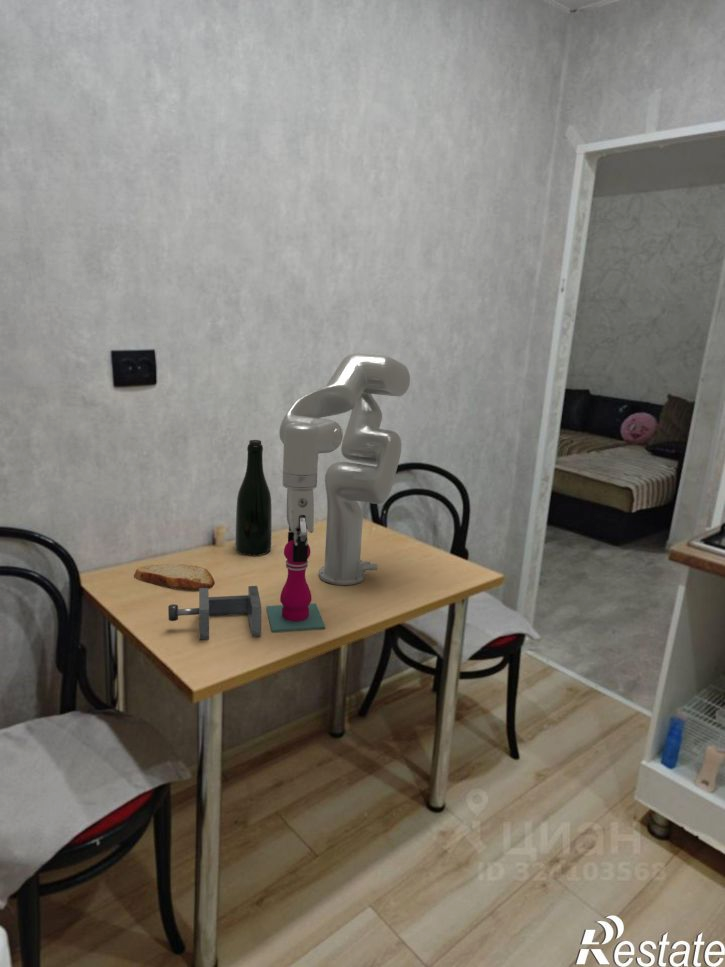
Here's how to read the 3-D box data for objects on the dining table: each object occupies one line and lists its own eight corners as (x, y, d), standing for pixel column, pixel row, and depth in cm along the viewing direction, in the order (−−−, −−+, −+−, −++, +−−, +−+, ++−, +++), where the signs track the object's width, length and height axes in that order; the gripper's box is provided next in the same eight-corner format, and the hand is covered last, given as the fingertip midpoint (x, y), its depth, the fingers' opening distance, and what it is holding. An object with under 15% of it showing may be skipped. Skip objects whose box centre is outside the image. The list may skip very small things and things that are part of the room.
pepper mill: (281, 623, 145) (283, 540, 140) (278, 609, 152) (280, 529, 147) (313, 621, 147) (315, 539, 142) (308, 607, 154) (311, 528, 148)
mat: (315, 605, 156) (316, 603, 156) (325, 628, 145) (325, 626, 145) (266, 608, 153) (266, 605, 153) (271, 632, 142) (271, 629, 142)
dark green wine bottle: (245, 558, 183) (246, 445, 175) (229, 547, 191) (230, 438, 183) (277, 552, 189) (280, 442, 181) (261, 541, 197) (263, 435, 189)
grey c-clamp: (256, 610, 152) (256, 583, 150) (260, 636, 140) (261, 606, 138) (170, 615, 147) (169, 586, 145) (167, 641, 135) (167, 611, 134)
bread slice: (130, 574, 169) (130, 560, 168) (198, 564, 178) (198, 551, 177) (145, 601, 154) (145, 587, 153) (219, 589, 163) (219, 575, 162)
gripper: (324, 489, 134) (320, 569, 138) (310, 469, 150) (307, 541, 154) (287, 490, 132) (285, 570, 136) (278, 469, 148) (276, 542, 153)
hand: (297, 554), depth 145 cm, fingers open, 7 cm apart
